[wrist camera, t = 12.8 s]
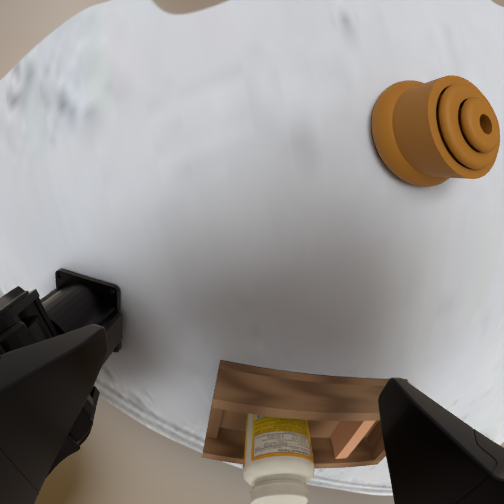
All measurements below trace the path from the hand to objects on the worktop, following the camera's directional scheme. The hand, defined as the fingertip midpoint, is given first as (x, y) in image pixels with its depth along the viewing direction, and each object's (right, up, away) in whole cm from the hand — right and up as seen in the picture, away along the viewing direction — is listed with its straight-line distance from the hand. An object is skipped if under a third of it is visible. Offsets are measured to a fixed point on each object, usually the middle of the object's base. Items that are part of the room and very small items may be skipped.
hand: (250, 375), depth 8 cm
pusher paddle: (+9, -12, +15) cm, 21 cm away
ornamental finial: (+11, +12, +9) cm, 19 cm away
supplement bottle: (+2, -11, +15) cm, 19 cm away
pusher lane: (+5, -11, +16) cm, 20 cm away
